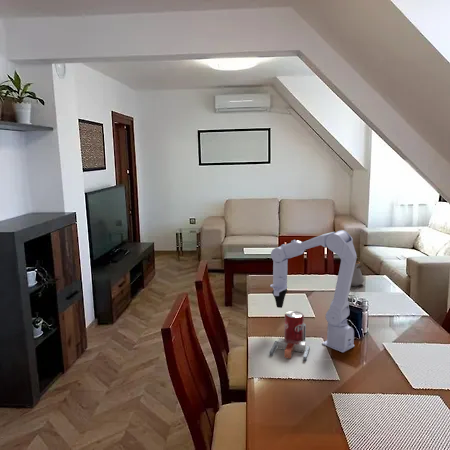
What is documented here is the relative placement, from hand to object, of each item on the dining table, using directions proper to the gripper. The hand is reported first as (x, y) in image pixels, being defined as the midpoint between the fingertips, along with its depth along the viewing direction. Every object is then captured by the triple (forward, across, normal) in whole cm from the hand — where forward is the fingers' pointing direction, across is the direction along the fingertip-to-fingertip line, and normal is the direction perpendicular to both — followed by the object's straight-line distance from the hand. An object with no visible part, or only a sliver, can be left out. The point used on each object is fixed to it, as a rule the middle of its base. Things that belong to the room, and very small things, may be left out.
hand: (279, 307), depth 170 cm
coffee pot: (+10, -68, +28) cm, 74 cm away
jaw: (+10, +19, +8) cm, 23 cm away
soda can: (+10, +11, +8) cm, 17 cm away
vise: (+10, +14, +8) cm, 19 cm away
